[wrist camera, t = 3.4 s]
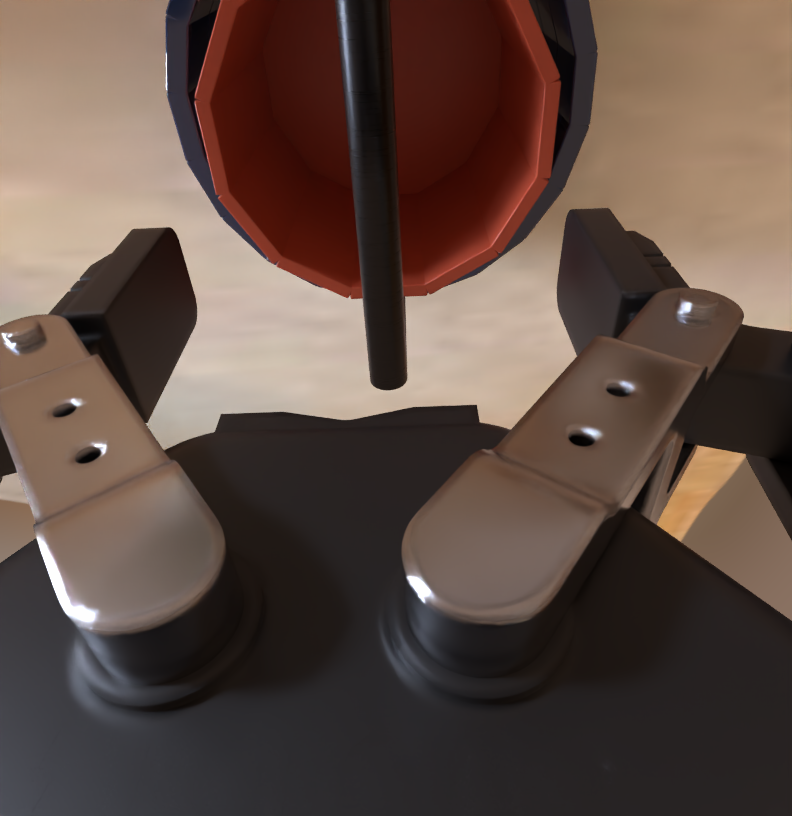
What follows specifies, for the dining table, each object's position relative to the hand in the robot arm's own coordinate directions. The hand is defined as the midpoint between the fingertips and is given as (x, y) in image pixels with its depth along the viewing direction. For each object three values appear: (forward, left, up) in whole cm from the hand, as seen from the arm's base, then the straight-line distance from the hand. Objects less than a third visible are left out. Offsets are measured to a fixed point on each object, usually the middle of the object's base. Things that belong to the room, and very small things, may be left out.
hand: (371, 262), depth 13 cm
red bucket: (0, 0, -19) cm, 19 cm away
